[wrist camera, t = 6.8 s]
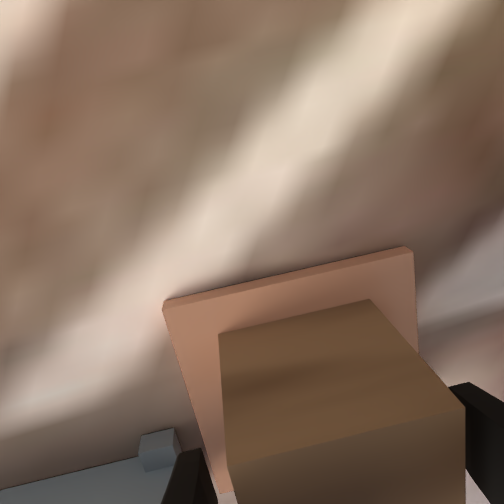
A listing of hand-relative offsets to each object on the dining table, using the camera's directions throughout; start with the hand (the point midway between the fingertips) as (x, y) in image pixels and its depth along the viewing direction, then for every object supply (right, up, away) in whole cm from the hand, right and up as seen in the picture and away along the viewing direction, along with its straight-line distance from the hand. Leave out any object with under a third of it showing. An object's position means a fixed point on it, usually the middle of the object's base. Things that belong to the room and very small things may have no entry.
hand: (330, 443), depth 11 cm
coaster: (0, +1, +3) cm, 3 cm away
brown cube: (0, +1, +2) cm, 3 cm away
